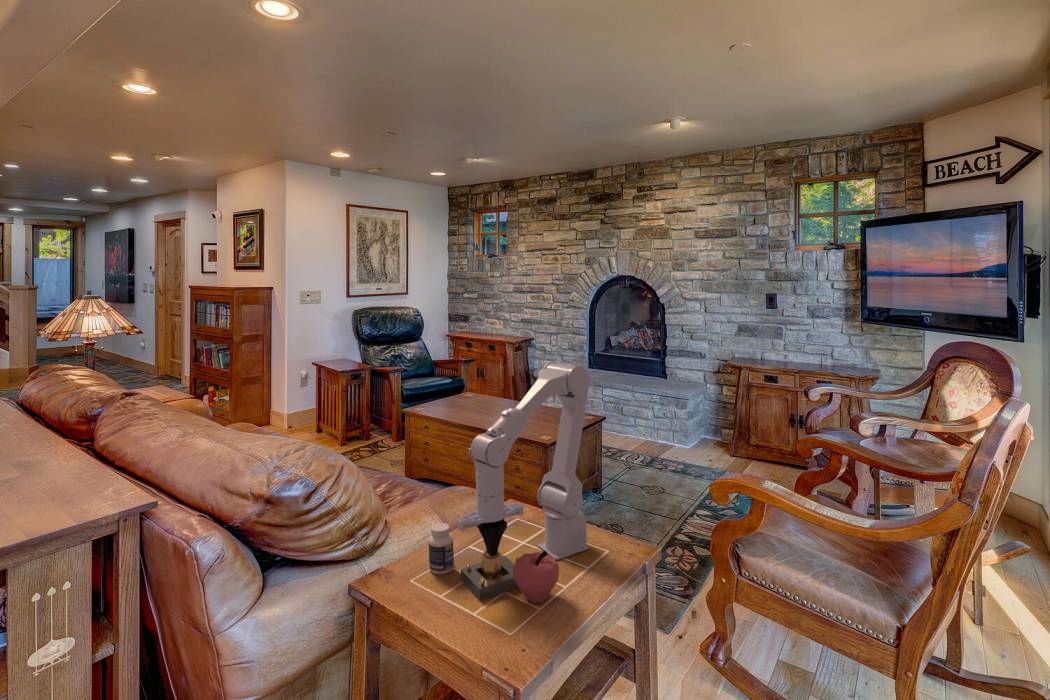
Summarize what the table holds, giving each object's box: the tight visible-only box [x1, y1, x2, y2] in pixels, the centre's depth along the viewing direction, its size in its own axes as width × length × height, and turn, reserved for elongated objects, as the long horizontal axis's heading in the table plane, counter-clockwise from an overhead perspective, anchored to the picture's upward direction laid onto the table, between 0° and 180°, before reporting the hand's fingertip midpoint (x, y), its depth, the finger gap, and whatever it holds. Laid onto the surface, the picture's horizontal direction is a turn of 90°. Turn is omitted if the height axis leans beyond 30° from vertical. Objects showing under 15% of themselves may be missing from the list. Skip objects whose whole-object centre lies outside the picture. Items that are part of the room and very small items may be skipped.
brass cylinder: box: [481, 550, 502, 581], centre depth 117 cm, size 4×4×6 cm
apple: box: [513, 550, 560, 604], centre depth 110 cm, size 10×9×10 cm
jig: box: [460, 555, 519, 601], centre depth 116 cm, size 11×9×4 cm
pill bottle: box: [428, 522, 455, 575], centre depth 122 cm, size 5×5×10 cm
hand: (492, 553), depth 116 cm, fingers closed
